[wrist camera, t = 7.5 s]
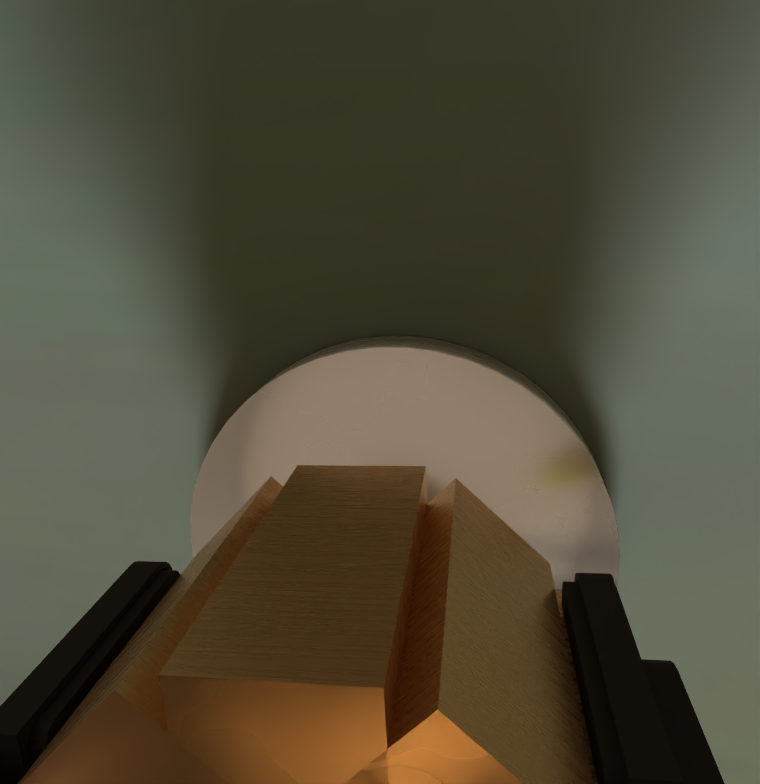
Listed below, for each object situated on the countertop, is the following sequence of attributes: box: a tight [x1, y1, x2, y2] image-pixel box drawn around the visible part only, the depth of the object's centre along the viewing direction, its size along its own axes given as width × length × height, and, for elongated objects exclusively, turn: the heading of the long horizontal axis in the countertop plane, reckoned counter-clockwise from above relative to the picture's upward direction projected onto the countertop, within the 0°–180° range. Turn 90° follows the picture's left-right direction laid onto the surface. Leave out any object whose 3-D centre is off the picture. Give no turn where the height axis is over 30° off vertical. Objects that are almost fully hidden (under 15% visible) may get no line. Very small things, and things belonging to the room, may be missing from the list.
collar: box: [18, 465, 598, 784], centre depth 9 cm, size 6×6×5 cm
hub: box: [190, 336, 620, 589], centre depth 12 cm, size 9×9×6 cm
